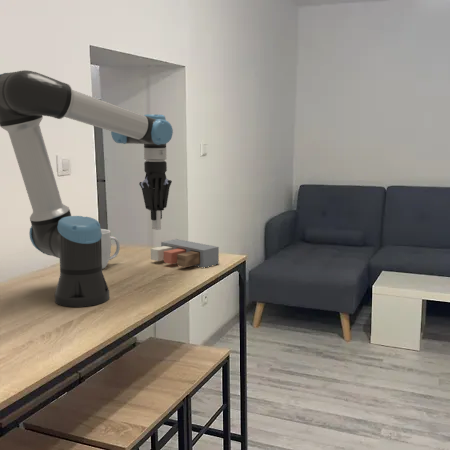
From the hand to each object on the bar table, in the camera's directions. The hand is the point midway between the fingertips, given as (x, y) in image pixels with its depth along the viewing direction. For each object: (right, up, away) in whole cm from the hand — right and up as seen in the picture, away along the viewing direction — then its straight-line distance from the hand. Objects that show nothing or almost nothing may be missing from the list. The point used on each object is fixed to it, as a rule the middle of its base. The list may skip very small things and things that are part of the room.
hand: (156, 229), depth 192 cm
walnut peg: (+11, -13, +5) cm, 18 cm away
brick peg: (+6, -12, +9) cm, 16 cm away
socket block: (+10, -12, +14) cm, 21 cm away
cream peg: (+1, -11, +14) cm, 18 cm away
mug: (-21, -14, +5) cm, 26 cm away
